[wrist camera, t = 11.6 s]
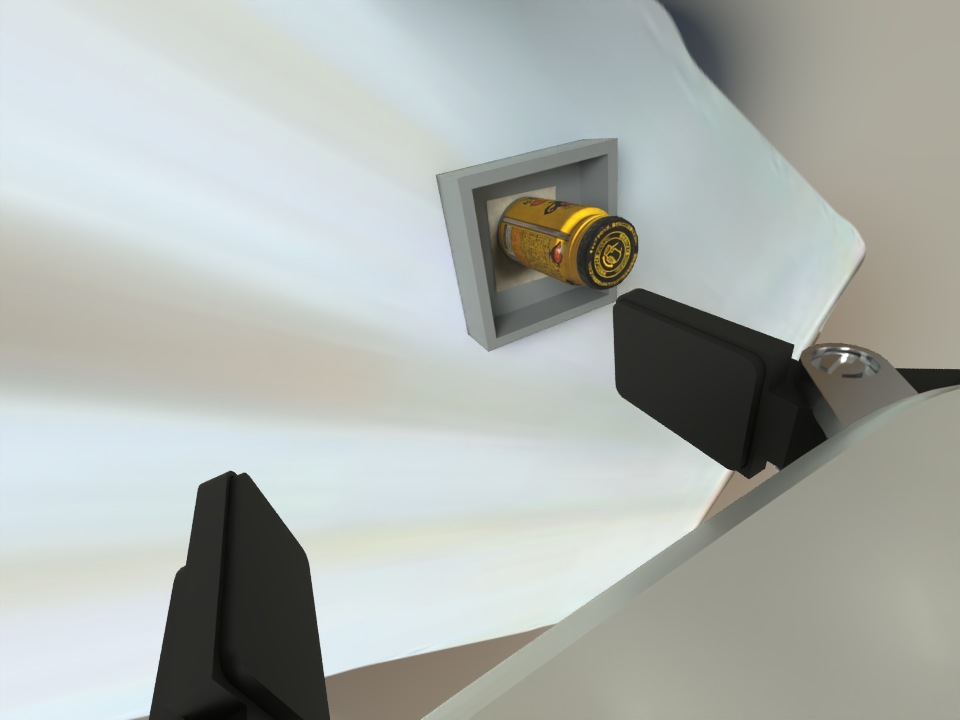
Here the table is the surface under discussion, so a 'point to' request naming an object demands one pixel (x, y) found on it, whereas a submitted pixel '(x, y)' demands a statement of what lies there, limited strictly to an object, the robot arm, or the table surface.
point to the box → (464, 194)
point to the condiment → (558, 242)
